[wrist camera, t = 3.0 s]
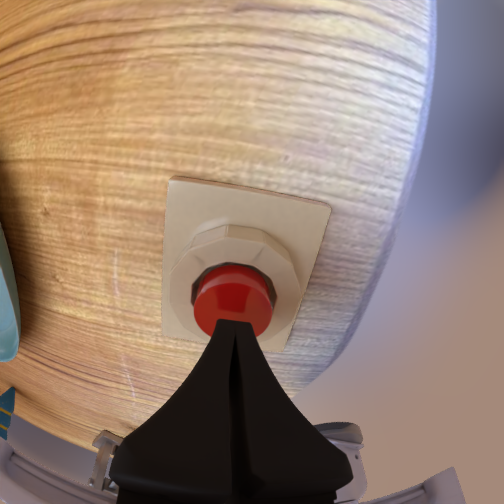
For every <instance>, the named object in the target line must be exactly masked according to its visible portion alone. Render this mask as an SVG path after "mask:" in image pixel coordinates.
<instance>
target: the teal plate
mask: <svg viewBox="0 0 504 504" xmlns="http://www.w3.org/2000/svg"><path fill="white" fill-rule="evenodd" d="M20 334H21V317H20V306H19V298H18V291H17V285H16V280H15V275H14V270H13V266H12V261H11V257H10V254H9V250H8V246H7V243H6V239H5V236H4V232H3V229H2V226H1V222H0V361H1V362H8V361H11V360H12V359H14V358H15V356H16V355H17V352H18V348H19V343H20Z"/></svg>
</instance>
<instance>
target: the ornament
mask: <svg viewBox="0 0 504 504" xmlns="http://www.w3.org/2000/svg"><path fill="white" fill-rule="evenodd" d="M14 402H15V389H14V388H13V387H11V388H10V389H8V390H7V391H6V392H5V393H3V394H2V395H1V396H0V437H2V438H3V439H4V440H7V429H8V427H9V426H10V420H11V414H12V413H13V411H14Z"/></svg>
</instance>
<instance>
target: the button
mask: <svg viewBox="0 0 504 504" xmlns="http://www.w3.org/2000/svg"><path fill="white" fill-rule="evenodd" d="M193 313H194V318H195V321H196V323H197V325H198V326H199V327H200V329H201V330H202V331H203V332H204V333H206V334H207V335H208V336H210V337H211V336H212V334H213V332H214V329H215V326H216V321H217V320H218V319H220V318H221V319H228V320H235V321H243V322H250V323H251V324H252V326H253V330H254V333H255V336H256V337H258V336H259V335H261V334H262V333H263V332H264V331H265V330H266V329H267V327H268V326H269V324H270V322H271V319H272V306H271V299H270V291H269V287H268V285H267V283H266V281H265V280H264V278H263V277H262V276H261V275H260V274H258V273H257V272H256V271H254V270H252V269H250V268H248V267H245V266H240V265H225V266H221V267H218V268H216V269H214V270H212V271H210V272H209V273H208V274H206V275H205V276H204V278H203V279H202V280H201V282H200V284H199V287H198V291H197V295H196V299H195V303H194V309H193Z"/></svg>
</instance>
